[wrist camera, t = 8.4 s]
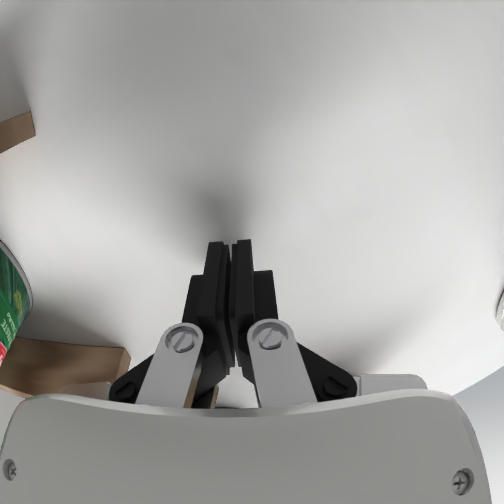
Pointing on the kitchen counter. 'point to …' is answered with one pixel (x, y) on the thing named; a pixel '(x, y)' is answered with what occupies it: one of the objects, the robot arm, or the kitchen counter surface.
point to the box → (49, 353)
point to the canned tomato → (12, 299)
